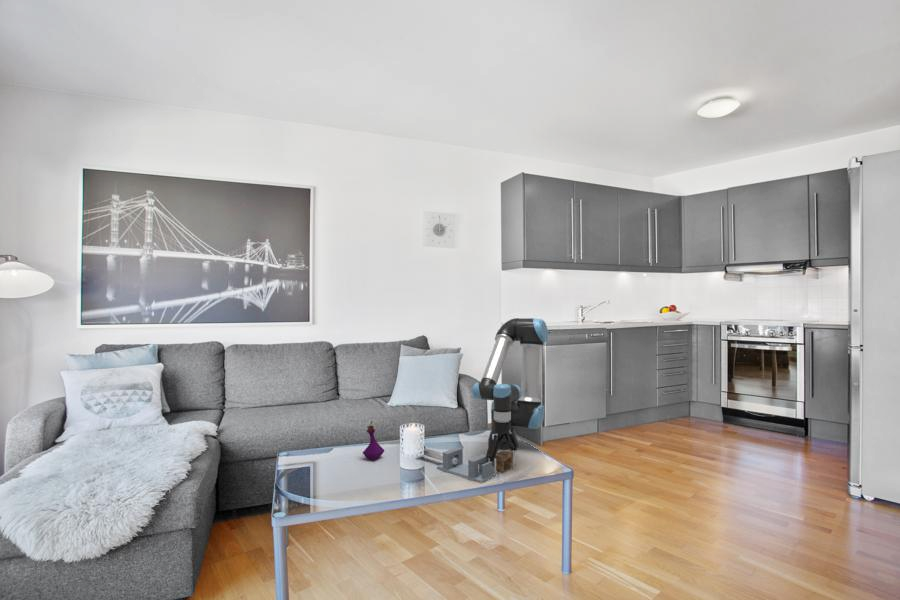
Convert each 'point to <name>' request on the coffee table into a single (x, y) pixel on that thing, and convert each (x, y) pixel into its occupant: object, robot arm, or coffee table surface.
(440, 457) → the shaft
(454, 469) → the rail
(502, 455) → the spacer
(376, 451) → the perfume bottle
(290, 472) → the coffee table surface
